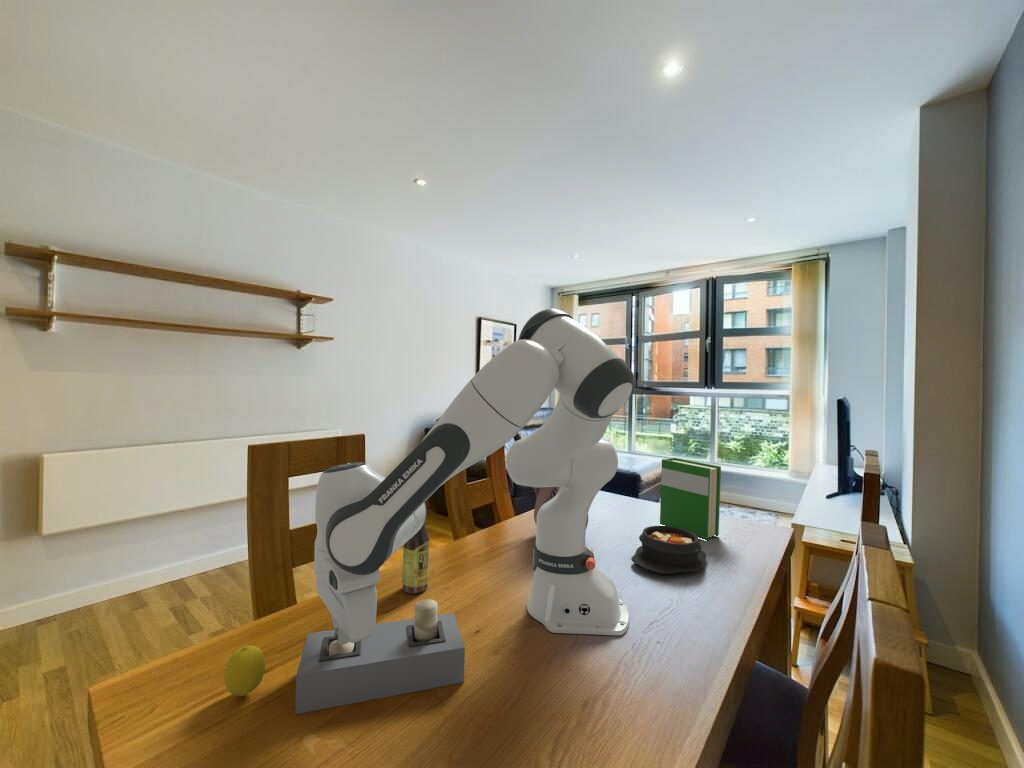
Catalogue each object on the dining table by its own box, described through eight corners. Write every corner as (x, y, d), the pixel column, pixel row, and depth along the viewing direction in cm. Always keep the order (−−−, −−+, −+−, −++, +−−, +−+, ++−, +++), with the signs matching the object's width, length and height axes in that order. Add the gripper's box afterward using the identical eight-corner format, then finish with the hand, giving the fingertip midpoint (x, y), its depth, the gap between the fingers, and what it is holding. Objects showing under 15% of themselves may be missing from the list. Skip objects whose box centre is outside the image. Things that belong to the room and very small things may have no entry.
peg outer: (354, 669, 75) (354, 636, 75) (352, 685, 71) (353, 650, 71) (329, 673, 74) (330, 640, 73) (326, 689, 70) (327, 654, 70)
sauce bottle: (421, 596, 100) (423, 512, 100) (397, 593, 102) (399, 510, 101) (432, 583, 107) (434, 504, 107) (409, 580, 108) (410, 502, 108)
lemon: (236, 683, 71) (236, 636, 71) (271, 682, 72) (271, 635, 72) (216, 709, 66) (216, 658, 66) (254, 708, 66) (254, 657, 66)
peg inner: (435, 629, 79) (436, 598, 79) (438, 642, 75) (439, 609, 75) (413, 632, 78) (414, 600, 77) (415, 646, 74) (415, 612, 74)
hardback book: (718, 537, 144) (720, 466, 143) (706, 542, 139) (708, 468, 139) (672, 522, 158) (674, 457, 158) (659, 525, 154) (661, 459, 153)
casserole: (674, 589, 108) (675, 555, 107) (615, 562, 122) (616, 533, 122) (722, 564, 123) (723, 535, 123) (664, 543, 138) (665, 517, 137)
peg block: (453, 643, 83) (454, 611, 83) (463, 682, 73) (464, 646, 73) (307, 666, 76) (307, 632, 76) (295, 714, 65) (296, 673, 65)
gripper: (307, 543, 78) (306, 617, 78) (342, 588, 62) (341, 681, 63) (342, 535, 82) (341, 606, 82) (384, 576, 66) (383, 664, 66)
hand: (341, 639), depth 72 cm, fingers closed
